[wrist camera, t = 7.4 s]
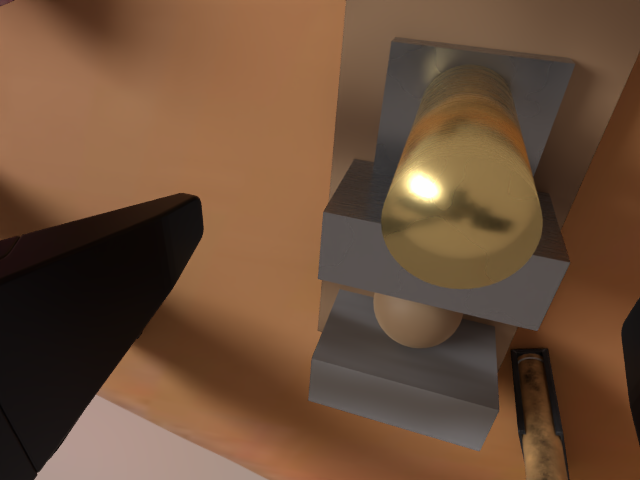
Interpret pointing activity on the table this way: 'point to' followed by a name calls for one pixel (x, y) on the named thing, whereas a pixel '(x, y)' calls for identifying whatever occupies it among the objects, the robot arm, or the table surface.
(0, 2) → the flower
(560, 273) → the sliding jaw
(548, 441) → the ammunition clip
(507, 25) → the cracker base
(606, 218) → the table surface
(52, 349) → the robot arm
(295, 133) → the table surface
